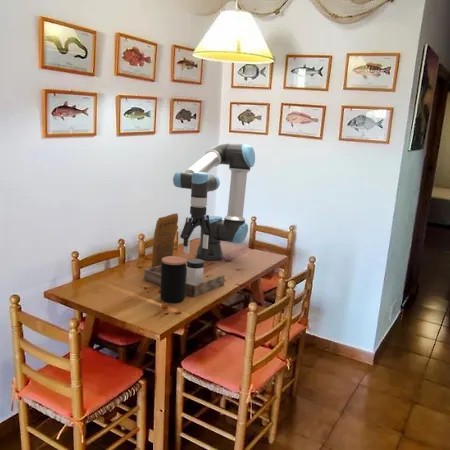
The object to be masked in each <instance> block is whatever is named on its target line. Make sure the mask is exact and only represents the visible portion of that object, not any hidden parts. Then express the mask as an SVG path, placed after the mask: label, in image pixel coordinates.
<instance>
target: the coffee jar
mask: <svg viewBox="0 0 450 450" xmlns="http://www.w3.org/2000/svg"><path fill="white" fill-rule="evenodd" d="M162 262H163V263H162V266H161V286H160V298H161V301H163V302H165V303H169V304H177V303H181V302H183V301H184V299H185V298H186V294H185V283H186V279H187V278H186V268H187V259H186V258H185V257H183V256H178V255H173V256H167V257H163V258H162Z"/></svg>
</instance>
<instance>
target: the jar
mask: <svg viewBox="0 0 450 450" xmlns="http://www.w3.org/2000/svg"><path fill="white" fill-rule="evenodd" d="M204 267H205V260H204V259H201V258H189V259H186V268H187V278H186V283H189V284H192V285H195V284H198V283H201V282H204V269H205V268H204Z"/></svg>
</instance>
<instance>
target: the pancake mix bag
mask: <svg viewBox="0 0 450 450" xmlns="http://www.w3.org/2000/svg"><path fill="white" fill-rule="evenodd" d="M178 214H179V213H171V214H169V215H165V216H162V217H158V218H157V220H156V224H155V228H154V232H153V238H152V240H153V241H152V255H151V268H153V267H156V266H160V265H162V263H163V262H162V258H163V257H167V256H174V244H175V238H176V235H177V227H178V223H179V222H178V221H179V215H178Z"/></svg>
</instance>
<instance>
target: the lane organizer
mask: <svg viewBox="0 0 450 450" xmlns="http://www.w3.org/2000/svg"><path fill="white" fill-rule="evenodd" d="M161 266H162V265H160V266H156V267H153V268H152V267H149V268H146V269H144V270H143V271H144V272H143V280H144V281H147V282H149V283H152V284H155V285H159V286H160V287H161ZM186 279H187V267H186ZM223 286H225V275H224V274H221V275H218V276H215V277H211V278H210V279H206V280H203V282H201V283H198V284H195V285H192V284H189V283H185V296H189V297H192V298H195V297H197V296H200V295H203V294H205V293H208V292H210V291H213V290H216V289H219V288H221V287H223Z"/></svg>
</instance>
